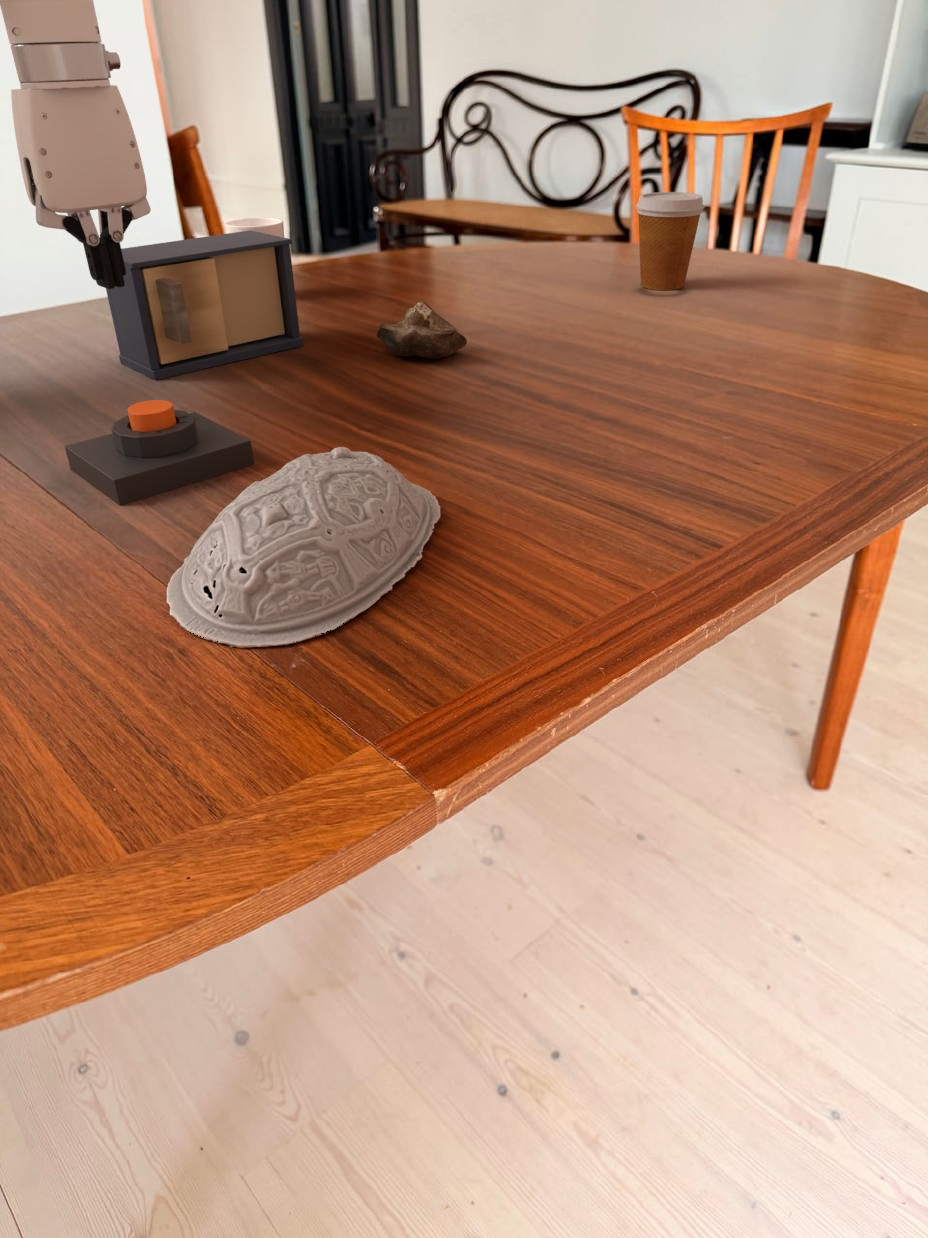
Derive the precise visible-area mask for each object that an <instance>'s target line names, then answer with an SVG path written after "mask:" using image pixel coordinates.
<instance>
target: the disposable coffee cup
mask: <svg viewBox="0 0 928 1238" xmlns="http://www.w3.org/2000/svg"><path fill="white" fill-rule="evenodd" d="M635 208H636V213H637V216H638V245H639V266H640V267H639V270H640V272H639V273H640V274H639V275H640V286H641V287H643V288H645V289H648V290H654V291H673V290H679V289H682V288H684V287H685V283H686V279H687V275H688V271H689V266H690V262H691V258H692V253H693V250H694V249H693V248H694V245H695V240H696V235H697V230H698V227H699V222H700V217H701V214H702V213H703V210H704V209H705V208H706V206H705V205H704V202H703V195H701V194H698V193H693V192H683V191H681V192H680V191H661V192H660V191H658V192H647V193H643V194H640V195H639V197H638V201H637V204H635Z"/></svg>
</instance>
